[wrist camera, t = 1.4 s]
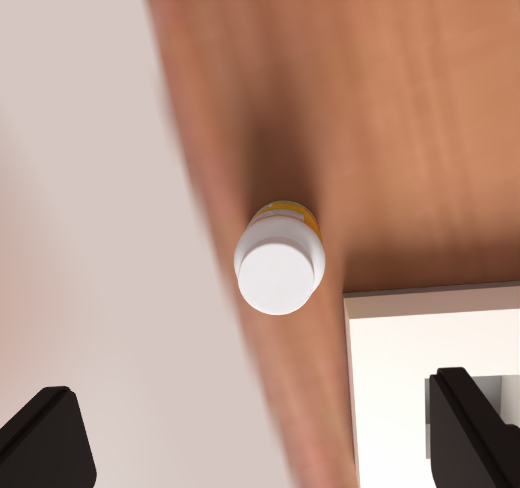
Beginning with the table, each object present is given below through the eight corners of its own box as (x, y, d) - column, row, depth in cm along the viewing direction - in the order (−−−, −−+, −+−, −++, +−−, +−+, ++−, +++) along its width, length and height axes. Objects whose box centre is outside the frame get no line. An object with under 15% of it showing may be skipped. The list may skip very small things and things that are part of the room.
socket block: (342, 293, 30) (349, 319, 26) (568, 277, 28) (617, 302, 23) (354, 463, 34) (362, 511, 30) (553, 460, 32) (592, 511, 27)
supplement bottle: (315, 272, 30) (321, 334, 20) (245, 264, 30) (220, 321, 21) (324, 203, 28) (336, 235, 19) (251, 195, 29) (227, 223, 19)
